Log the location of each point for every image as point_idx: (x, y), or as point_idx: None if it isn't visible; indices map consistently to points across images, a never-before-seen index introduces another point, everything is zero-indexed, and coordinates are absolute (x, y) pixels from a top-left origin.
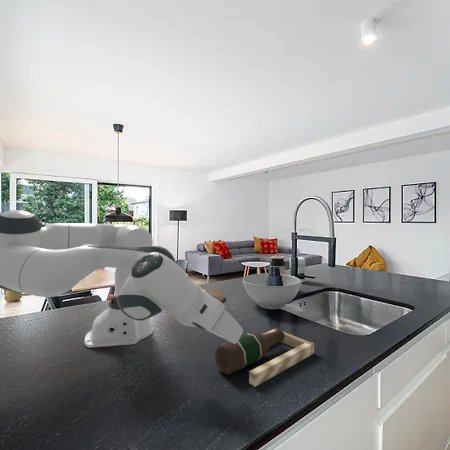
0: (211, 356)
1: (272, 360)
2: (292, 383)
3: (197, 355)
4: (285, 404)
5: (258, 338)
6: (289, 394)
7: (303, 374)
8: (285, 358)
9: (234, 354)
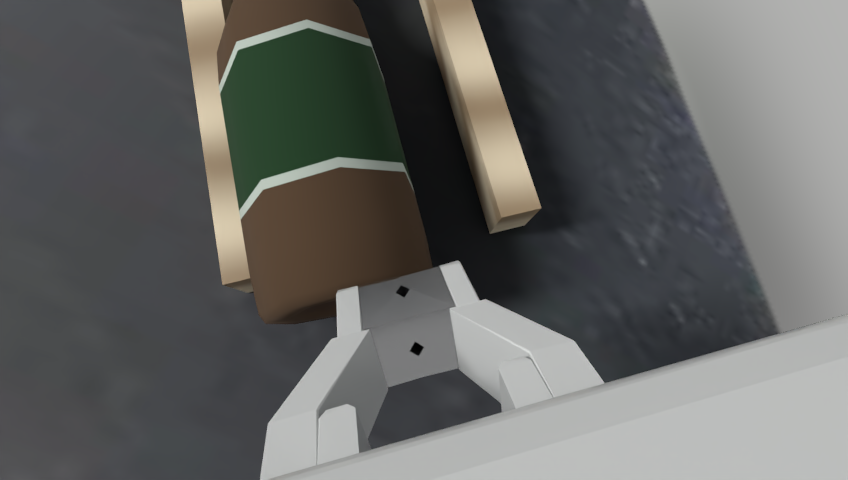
0: (168, 293)
1: (461, 64)
2: (563, 80)
3: (107, 365)
4: (668, 181)
5: (330, 16)
6: (621, 132)
7: (527, 8)
8: (472, 4)
9: (418, 244)
